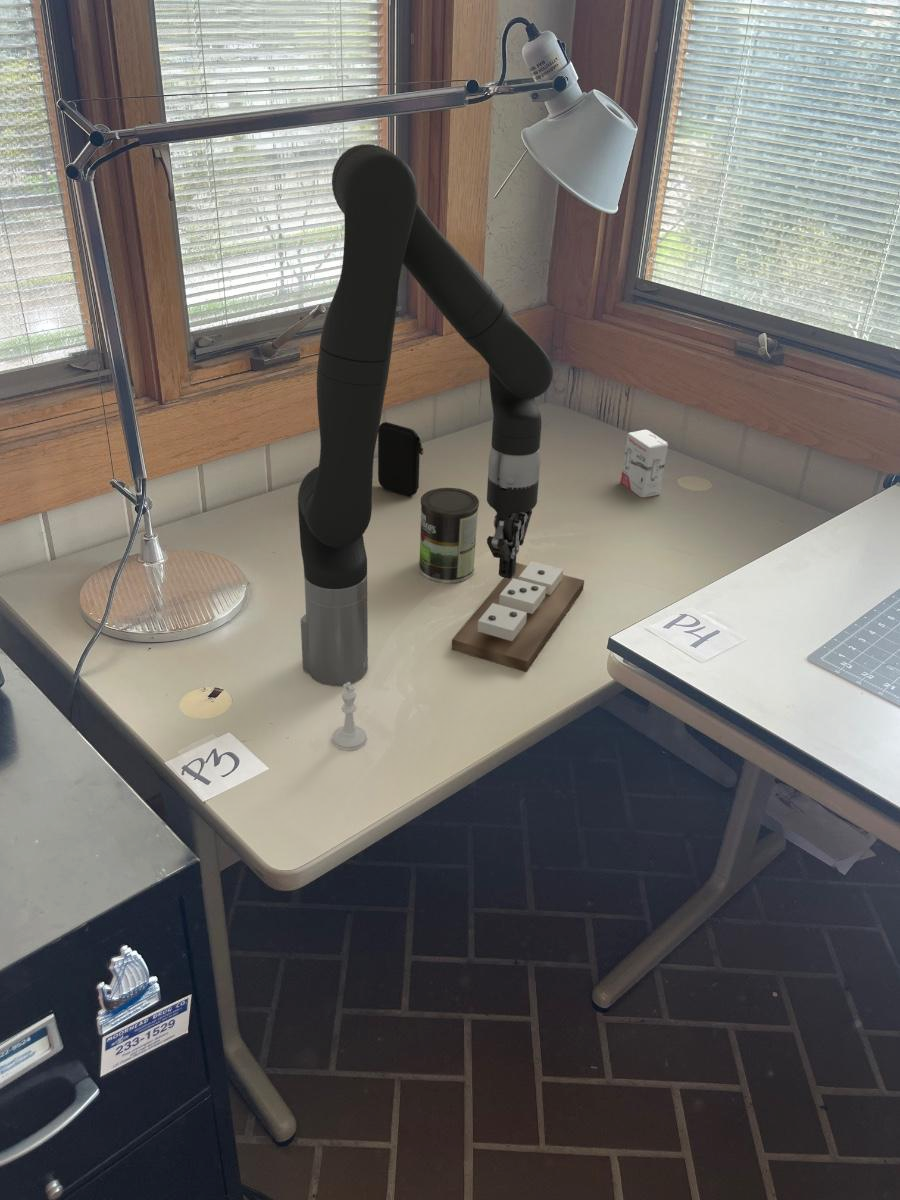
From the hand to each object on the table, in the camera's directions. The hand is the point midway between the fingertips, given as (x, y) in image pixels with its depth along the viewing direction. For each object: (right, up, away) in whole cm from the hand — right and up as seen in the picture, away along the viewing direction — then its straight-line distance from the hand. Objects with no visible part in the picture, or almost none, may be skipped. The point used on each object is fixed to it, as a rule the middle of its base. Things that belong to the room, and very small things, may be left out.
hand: (506, 575), depth 158 cm
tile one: (+7, -1, +20) cm, 21 cm away
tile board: (+3, -7, +14) cm, 16 cm away
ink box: (+32, +20, +59) cm, 70 cm away
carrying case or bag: (-19, +18, +53) cm, 59 cm away
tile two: (0, -8, +5) cm, 10 cm away
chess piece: (-23, -24, -14) cm, 36 cm away
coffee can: (-9, +2, +27) cm, 29 cm away
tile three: (+3, -4, +12) cm, 13 cm away
